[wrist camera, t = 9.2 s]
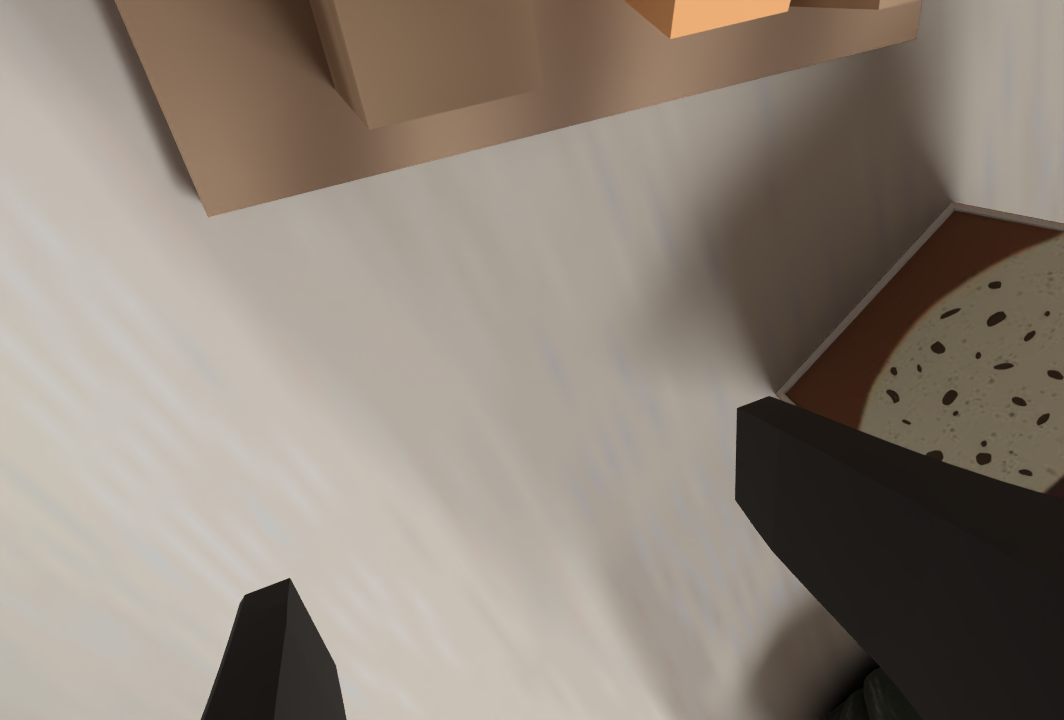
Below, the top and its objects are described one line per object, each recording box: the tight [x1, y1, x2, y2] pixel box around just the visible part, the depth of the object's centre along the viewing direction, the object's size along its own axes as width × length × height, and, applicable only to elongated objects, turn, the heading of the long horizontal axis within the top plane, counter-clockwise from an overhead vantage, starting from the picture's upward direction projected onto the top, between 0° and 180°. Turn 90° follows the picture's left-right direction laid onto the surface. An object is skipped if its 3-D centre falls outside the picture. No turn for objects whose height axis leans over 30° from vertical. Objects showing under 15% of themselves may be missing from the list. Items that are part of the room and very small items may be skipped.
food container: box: [776, 202, 1064, 499], centre depth 23 cm, size 12×6×10 cm, turn 138°
